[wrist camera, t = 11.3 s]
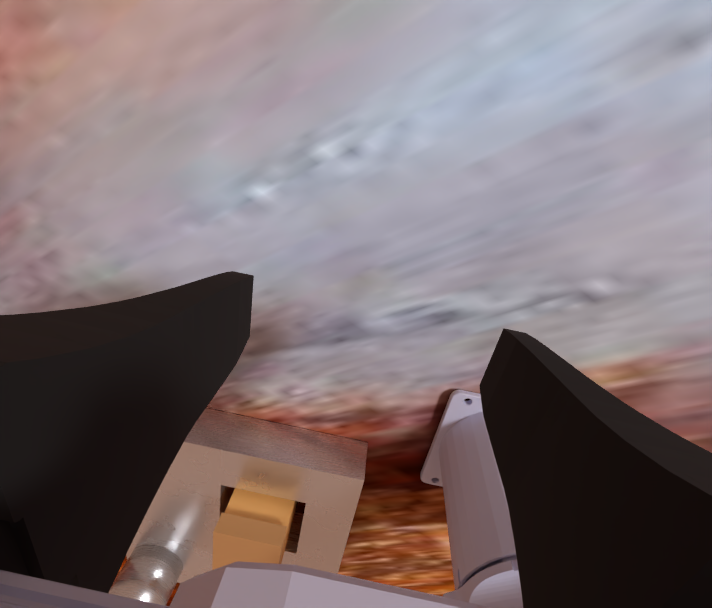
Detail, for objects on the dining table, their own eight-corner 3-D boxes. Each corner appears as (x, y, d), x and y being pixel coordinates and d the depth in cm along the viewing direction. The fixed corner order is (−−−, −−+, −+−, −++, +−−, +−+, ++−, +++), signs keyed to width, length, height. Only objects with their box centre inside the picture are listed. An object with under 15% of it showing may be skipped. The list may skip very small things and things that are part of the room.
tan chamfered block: (304, 461, 27) (281, 546, 22) (296, 507, 29) (273, 594, 24) (249, 449, 27) (213, 531, 22) (245, 497, 29) (211, 581, 24)
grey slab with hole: (367, 442, 26) (358, 547, 19) (331, 573, 33) (316, 681, 27) (136, 392, 26) (51, 481, 19) (151, 534, 33) (93, 632, 27)
